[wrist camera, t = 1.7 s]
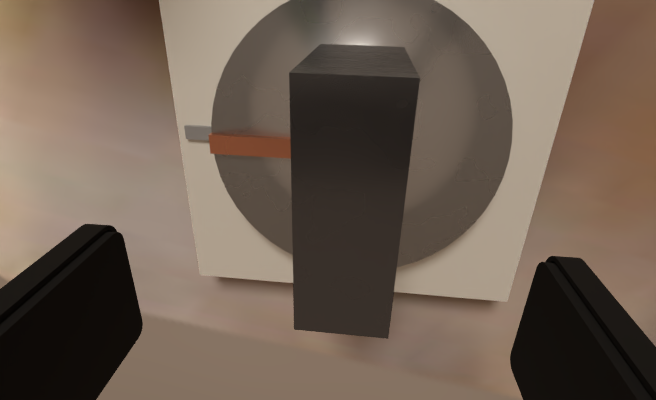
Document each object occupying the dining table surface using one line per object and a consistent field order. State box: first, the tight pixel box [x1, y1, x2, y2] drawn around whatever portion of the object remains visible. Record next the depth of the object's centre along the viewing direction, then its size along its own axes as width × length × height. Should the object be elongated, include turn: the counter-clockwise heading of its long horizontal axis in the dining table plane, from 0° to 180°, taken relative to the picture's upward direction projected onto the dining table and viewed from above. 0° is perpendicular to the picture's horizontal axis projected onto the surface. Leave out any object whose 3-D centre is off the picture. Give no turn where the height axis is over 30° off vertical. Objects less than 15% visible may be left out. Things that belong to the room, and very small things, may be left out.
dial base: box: [159, 0, 594, 302], centre depth 18 cm, size 16×16×2 cm
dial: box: [208, 0, 513, 338], centre depth 14 cm, size 12×12×7 cm
